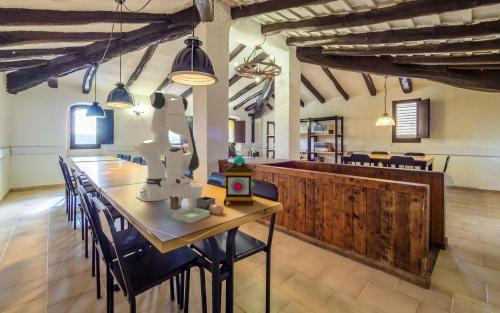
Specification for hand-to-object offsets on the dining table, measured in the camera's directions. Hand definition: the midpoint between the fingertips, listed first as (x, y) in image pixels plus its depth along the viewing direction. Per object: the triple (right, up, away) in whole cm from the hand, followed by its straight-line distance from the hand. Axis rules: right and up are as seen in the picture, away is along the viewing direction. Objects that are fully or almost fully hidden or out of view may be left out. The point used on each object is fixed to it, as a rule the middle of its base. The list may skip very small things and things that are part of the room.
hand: (175, 204), depth 126 cm
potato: (+20, -5, 0) cm, 21 cm away
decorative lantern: (+32, -4, +25) cm, 41 cm away
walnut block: (0, -2, 0) cm, 2 cm away
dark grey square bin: (+15, -5, +7) cm, 17 cm away
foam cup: (+6, -5, +15) cm, 17 cm away
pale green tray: (+9, -6, -5) cm, 12 cm away
